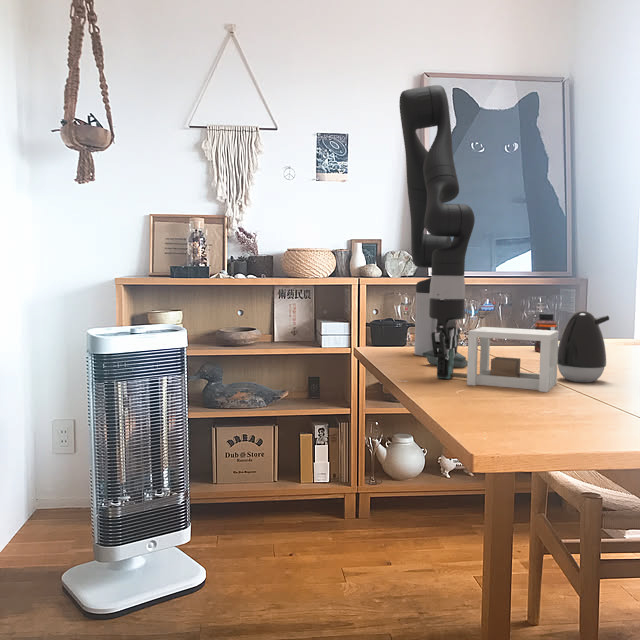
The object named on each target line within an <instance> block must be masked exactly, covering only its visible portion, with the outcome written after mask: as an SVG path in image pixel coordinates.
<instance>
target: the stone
mask: <svg viewBox="0 0 640 640" xmlns="http://www.w3.org/2000/svg"><path fill="white" fill-rule="evenodd" d="M422 354H423V355H424V356H423V357H425V358H426V361H427V363H428V364H430V365H432V366H433V365H434V366H437V359H436V357H434V353H433V350H430V351H427V352H424V353H422ZM467 365H468V359H467V357H466V356H464V355H463V354H461V353H459V352H458V351H457V353H456V354H455V356H454V361H453V368H461V369H462V368H463V369H464V368H466V367H467Z"/></svg>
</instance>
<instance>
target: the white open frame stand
mask: <svg viewBox="0 0 640 640" xmlns="http://www.w3.org/2000/svg"><path fill="white" fill-rule="evenodd" d="M559 332H560V330H556V331H553V330H535V329H533V328H532V329H531V328H530V329H529V328H528V329H527V328H514V327H513V328H511V327H493V326H481V327H477V328H473V329H471V330H468V331H467V333H468V339H467V361H468V365H467V366H466V367H467V369H466V370H467V372H466V374H467V378H466V385H467V386H476V385H477V386H478V385H481V386H488V387H489V386H491V387H499V388H500V387H501V388H513V389H524V390H535V391H538V392H542V393H543V392H544V393H548V392H549V391H551V389H552V388H553V387H554V386H555V385H556V384H558V382H557V381H558V364H557V362H558V346H559V337H560V335H559ZM479 338H480V348H479V349H480V353H479V356H480V358H479V359H480V360H479V374H478V352H479V350H478V347H479ZM491 339H500V340H519V341H534V342H535V341H541V347H540V352H539V372H538V373H534V372H533V373H532V372H523V371H520V378H517V377H505V376H493V375H491V369H490V350H491V349H490V345H491V344H490V343H491Z"/></svg>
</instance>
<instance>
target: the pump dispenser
mask: <svg viewBox="0 0 640 640" xmlns="http://www.w3.org/2000/svg"><path fill="white" fill-rule="evenodd" d="M608 321H610V316H609V315H605V316H604V315H603V316H601V317H600V316H599V317H595V316H594V315H593V314H592V313H591V312H588V311H586V310H581V311H577V312H575V313H573V314H572V315H571V316H570V318H569V319H568V321H567V323H566V324H565V326H564V329H563V331H562V333H561V336H560V340H559V341H558V362H557V369H558V371H559V374H560V375H561V376H562V377H563V378H564V379H565V380H567V381H570V382H575V383H593V382H595V381H597V380H598V379H600V378H601V376H602V375H603V373H604V371H605V367H606V366H607V353H606V345H605V339H604V336H603V333H602V330H601V328H600V324H602V323H606V322H608Z"/></svg>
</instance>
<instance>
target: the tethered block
mask: <svg viewBox="0 0 640 640" xmlns="http://www.w3.org/2000/svg"><path fill="white" fill-rule="evenodd" d="M440 352H442V349H441V350H440ZM453 361H454V350H449V359H448V376H447V377H438V375H437V374H436V378H437V379H446V380H448V379H452V378H456V379H457V378H458V379H467V373H465V372H464V373H463V372H462V373H461V372H454V367H453ZM437 368H438V359H437V365H436V369H437ZM490 370H491V375H493V376H505V377H517V378H520V372H521V358H516V357H504V356H503V357H501V356H495V357H493V358H491V359H490Z"/></svg>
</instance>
